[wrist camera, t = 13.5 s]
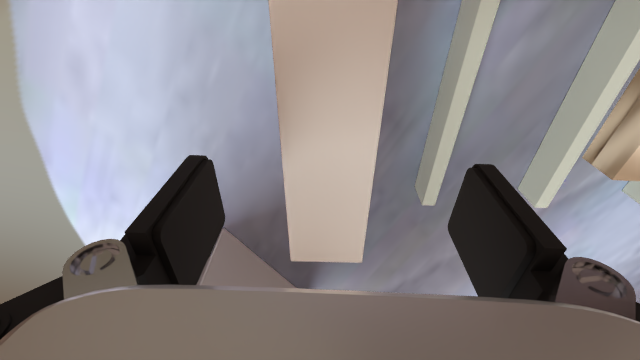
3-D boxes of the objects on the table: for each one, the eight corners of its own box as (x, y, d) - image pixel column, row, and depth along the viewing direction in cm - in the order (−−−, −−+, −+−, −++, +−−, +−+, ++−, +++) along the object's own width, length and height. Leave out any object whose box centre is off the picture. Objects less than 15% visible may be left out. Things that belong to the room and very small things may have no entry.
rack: (633, 191, 25) (659, 210, 23) (414, 186, 25) (422, 205, 23) (861, -89, 15) (947, -99, 13) (485, -94, 15) (510, -104, 13)
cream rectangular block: (350, 165, 24) (361, 262, 16) (302, 164, 24) (290, 261, 16) (366, -46, 16) (406, -61, 8) (294, -46, 16) (263, -61, 8)
